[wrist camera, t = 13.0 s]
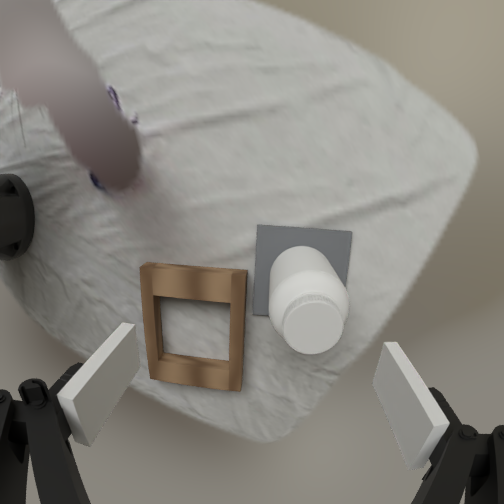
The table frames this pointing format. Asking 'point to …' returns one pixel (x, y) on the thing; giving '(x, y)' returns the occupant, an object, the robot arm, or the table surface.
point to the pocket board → (198, 288)
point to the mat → (283, 238)
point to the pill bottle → (307, 300)
